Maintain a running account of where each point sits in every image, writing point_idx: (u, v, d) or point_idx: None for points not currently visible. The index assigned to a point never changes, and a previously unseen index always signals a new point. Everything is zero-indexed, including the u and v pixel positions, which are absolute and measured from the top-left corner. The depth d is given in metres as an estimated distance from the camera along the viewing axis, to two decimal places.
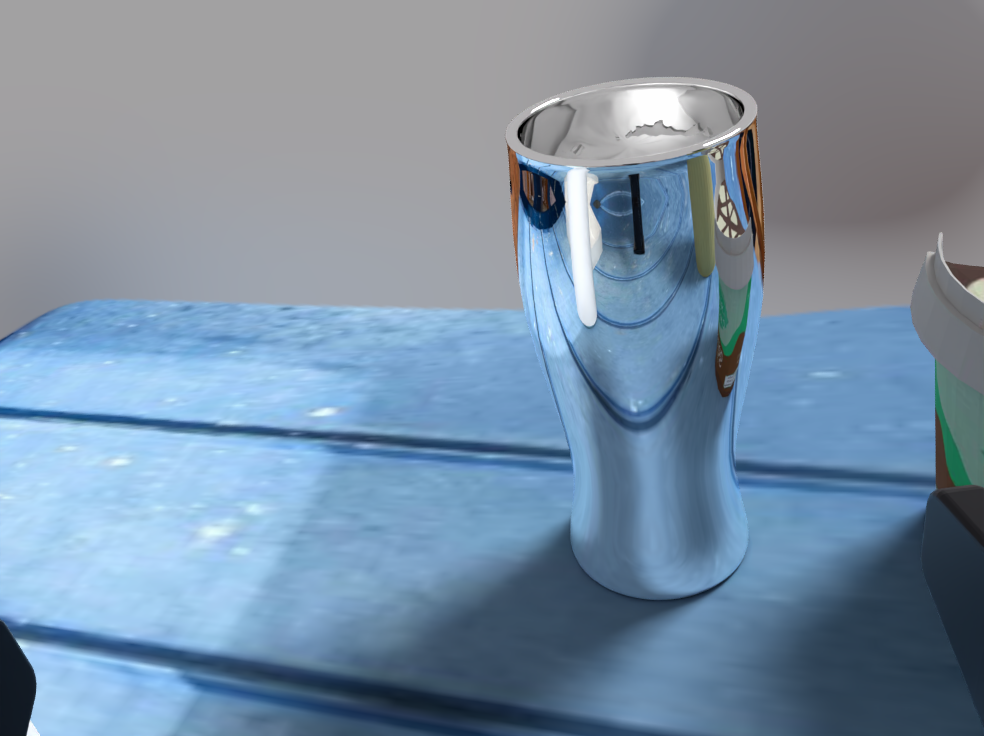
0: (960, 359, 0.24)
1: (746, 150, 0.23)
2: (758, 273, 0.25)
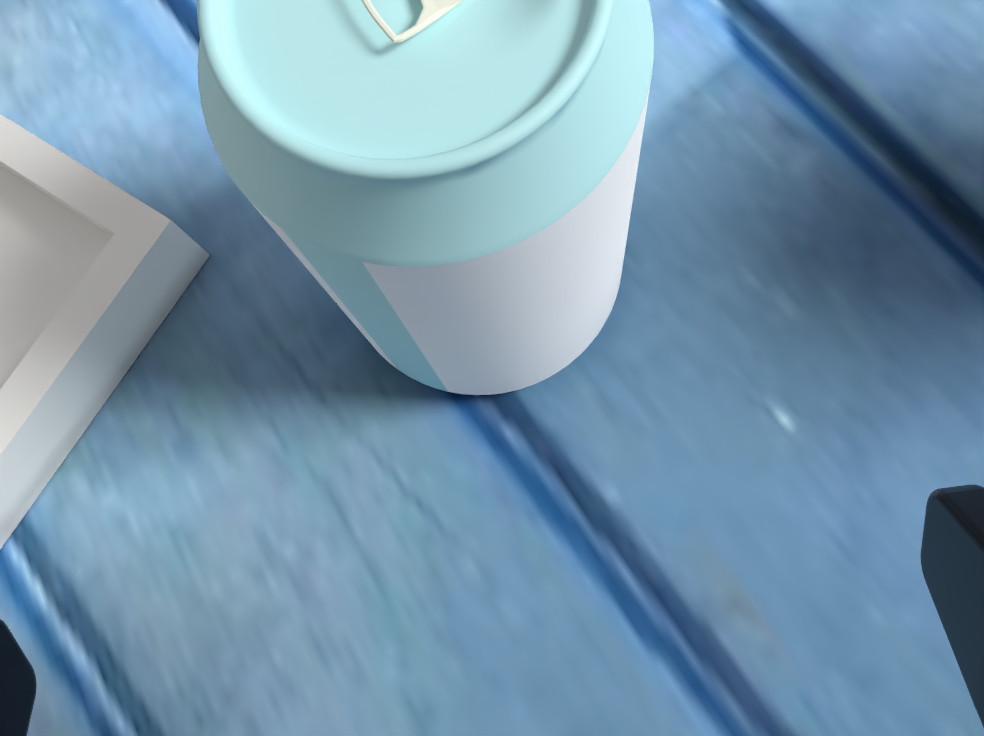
0: None
1: None
2: None
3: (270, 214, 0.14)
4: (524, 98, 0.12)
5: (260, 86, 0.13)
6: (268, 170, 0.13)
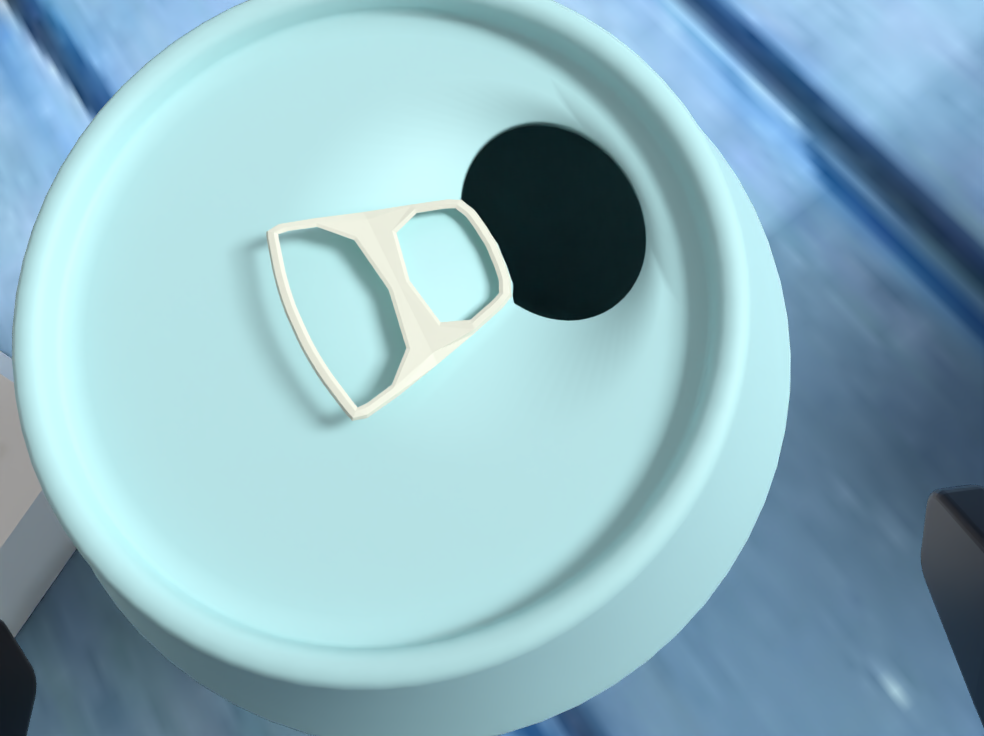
0: None
1: None
2: None
3: None
4: (588, 516, 0.07)
5: (123, 474, 0.07)
6: None
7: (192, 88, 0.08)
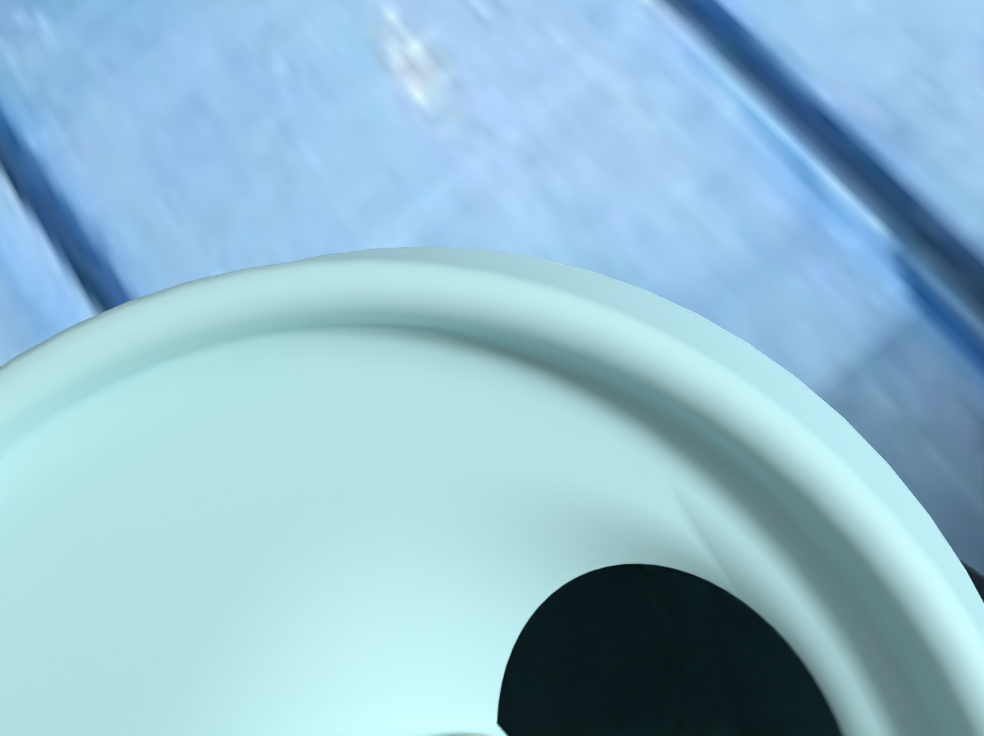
0: None
1: None
2: None
3: None
4: None
5: None
6: None
7: (1, 470, 0.04)
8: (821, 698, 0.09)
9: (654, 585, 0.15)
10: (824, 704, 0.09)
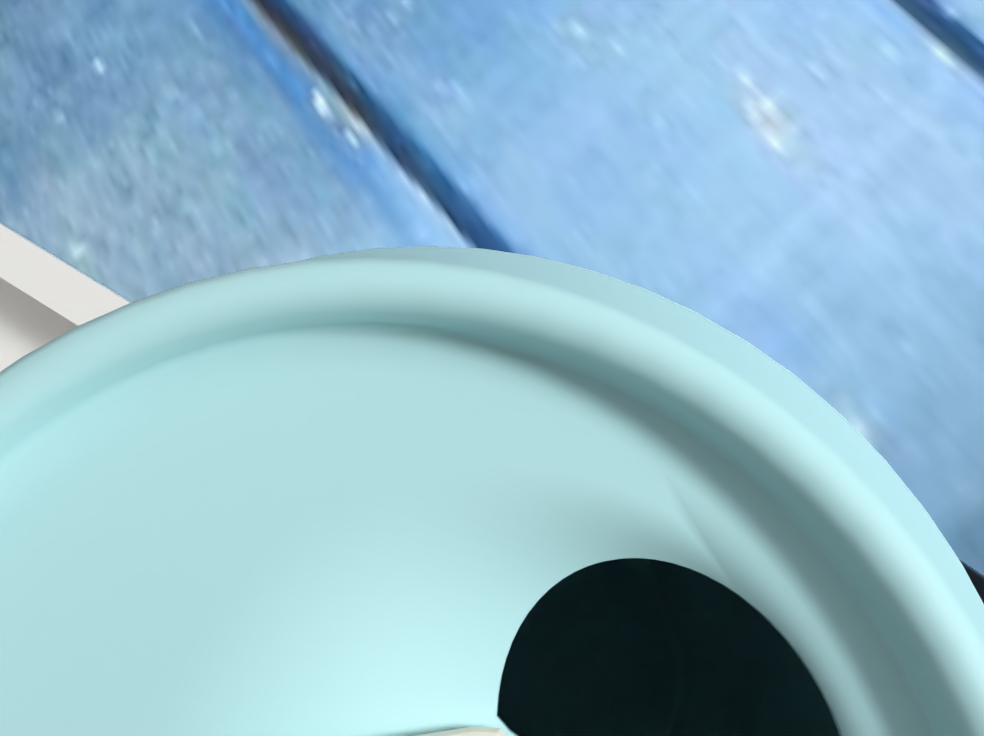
0: None
1: None
2: None
3: None
4: None
5: None
6: None
7: (9, 468, 0.04)
8: None
9: (658, 582, 0.15)
10: None
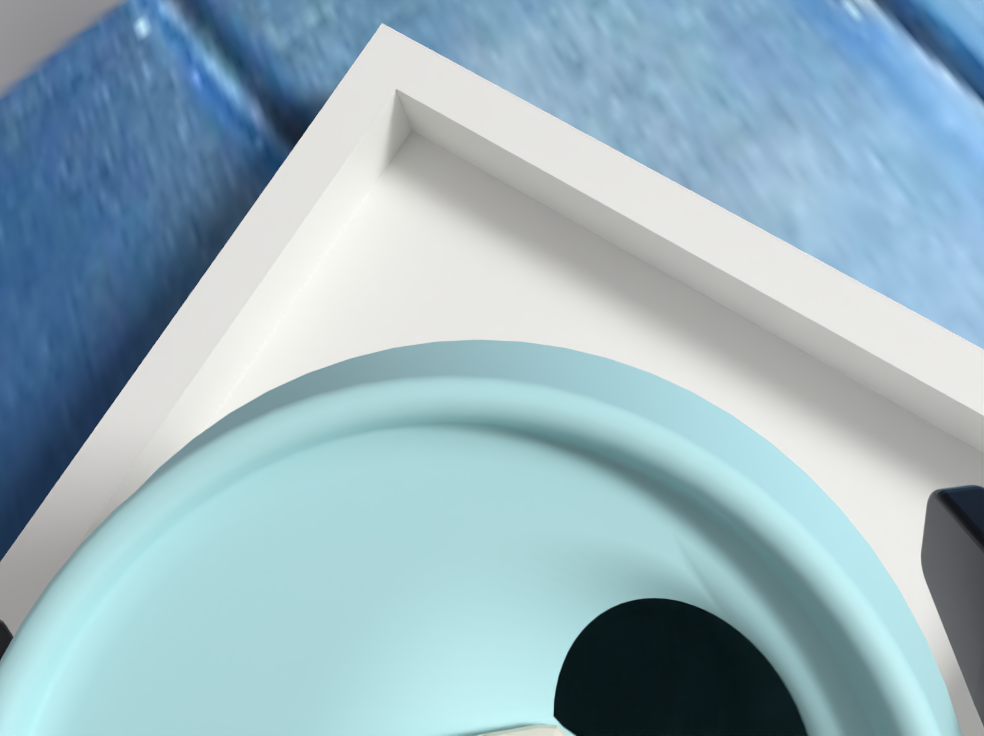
0: None
1: None
2: None
3: None
4: None
5: None
6: None
7: (177, 535, 0.06)
8: None
9: None
10: None
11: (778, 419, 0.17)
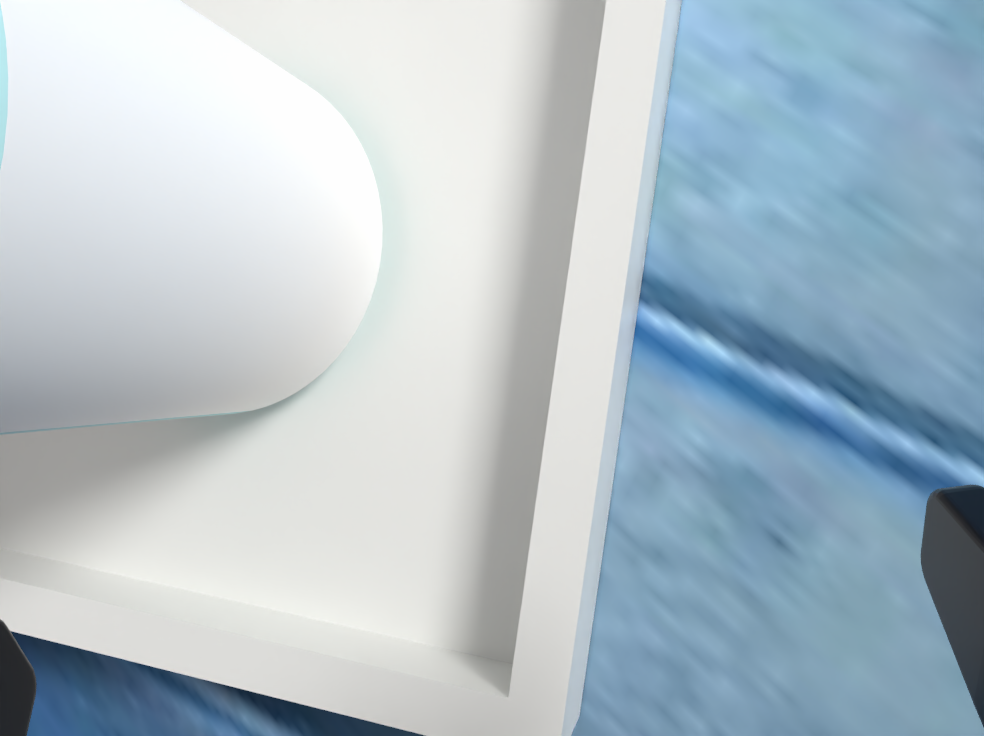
0: None
1: None
2: None
3: None
4: None
5: None
6: None
7: None
8: None
9: None
10: None
11: None
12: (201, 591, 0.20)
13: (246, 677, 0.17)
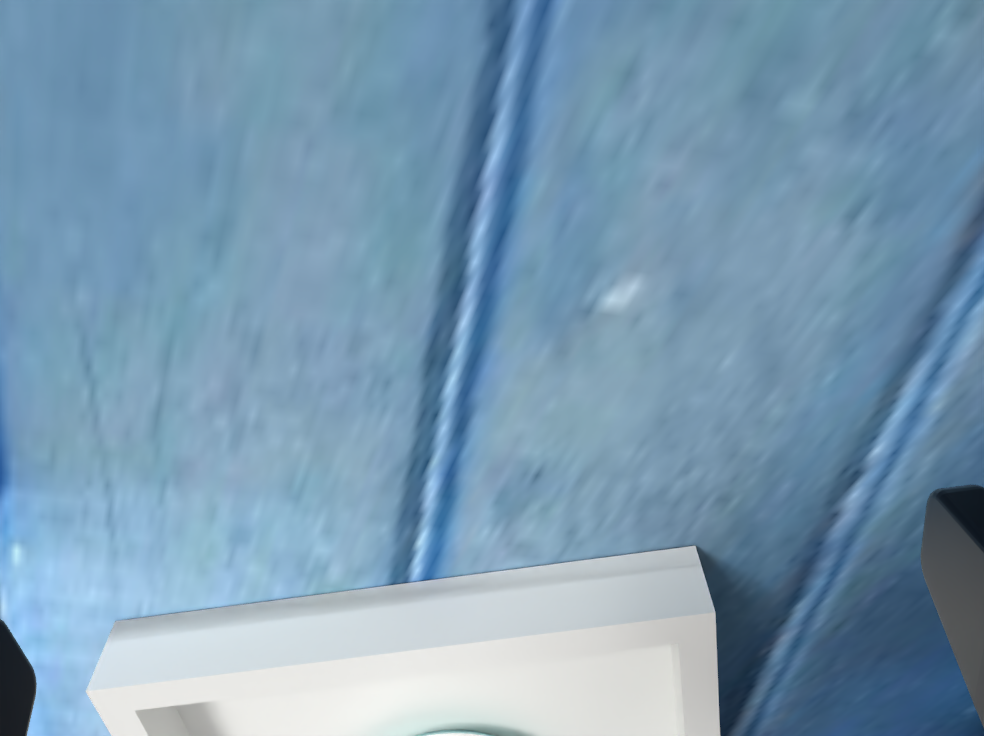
0: None
1: None
2: None
3: None
4: None
5: None
6: None
7: None
8: None
9: None
10: None
11: None
12: None
13: None
